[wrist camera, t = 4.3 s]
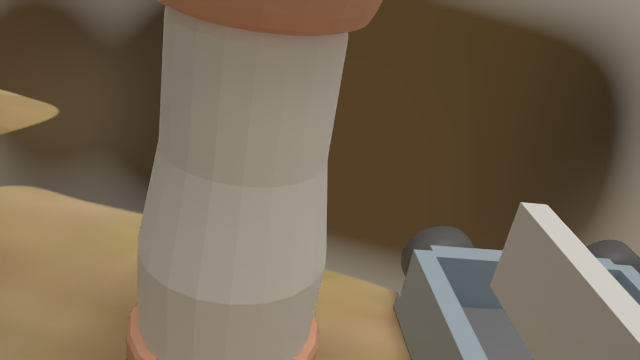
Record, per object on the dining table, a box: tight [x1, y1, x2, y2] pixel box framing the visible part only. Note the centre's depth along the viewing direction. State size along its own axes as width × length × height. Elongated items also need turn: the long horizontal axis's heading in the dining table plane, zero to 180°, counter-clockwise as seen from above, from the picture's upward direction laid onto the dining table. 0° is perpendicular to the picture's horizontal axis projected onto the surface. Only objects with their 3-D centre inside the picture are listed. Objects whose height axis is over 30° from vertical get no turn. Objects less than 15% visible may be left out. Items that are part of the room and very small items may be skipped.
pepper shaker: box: [127, 0, 382, 360], centre depth 19 cm, size 7×7×19 cm
